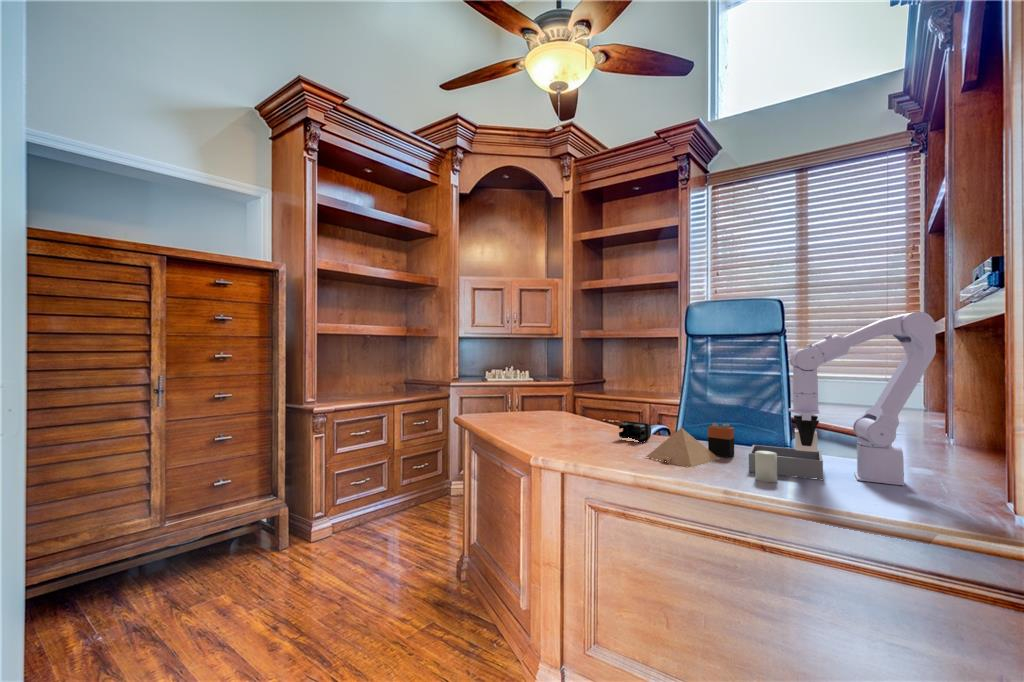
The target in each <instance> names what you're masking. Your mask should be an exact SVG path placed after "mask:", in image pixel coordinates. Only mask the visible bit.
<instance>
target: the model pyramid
mask: <svg viewBox="0 0 1024 682" xmlns="http://www.w3.org/2000/svg"><path fill="white" fill-rule="evenodd" d="M645 457H649V458H653V459H658V460H661V461H662V462H661V461H660V462H661V463H663V462H665V461H666V462H667V463H675V464H679V465H678V466H680V465H684V466H683V467H685V466H688V467H687V468H689V467H693V468H695V467H694V466H697V467H699V466H698V465H700V466H702V465H701V464H703V465H705V463H706V464H709V463H712V462H711V461H713V462H715V460H716V461H719V460H720V458H719V456H716V455H714V454H713V453H712V452H711V451H709V450H708V448H707V447H706V446H705V445H703V444H702V443H701V442H700V441H698V440H697V439H696V438H695V437H694V436H692V435H691V434H690V433H689V432H688V431H686V430H685V429H684V428H683V427H680V428H679V429H678V430H677V431H675V432H674V433H673V434H672V435H671V436H669V437H668V438H667V439H666V440H665V441H664V442H662V443H661V444H660V445H659V446H657V447H656V448H654V450H653V451H651V452H650V453H648V454H647V455H646V456H645ZM666 462H665V463H666ZM708 462H709V463H708ZM667 463H666V464H667ZM675 464H674V465H675Z"/></svg>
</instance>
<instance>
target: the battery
mask: <svg viewBox="0 0 1024 682" xmlns="http://www.w3.org/2000/svg"><path fill="white" fill-rule="evenodd" d="M707 446H708V448H707V449H708V450H709V451H711V452H712V453H713V454H714V455H716V456H717V457H722V458H729V459H730V457H733V456H735V427H733V426H730V424H729V423H722V424H721V425H720V424H719V423H715V422H714V423H712V425H709V426H707Z"/></svg>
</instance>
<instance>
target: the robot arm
mask: <svg viewBox="0 0 1024 682" xmlns="http://www.w3.org/2000/svg"><path fill="white" fill-rule="evenodd" d="M938 328H939V326H937V324H936V321H935V320H934V319H933V318H932V316H931V314H930V315H929V314H928V313H926V312H924V311H913V312H910V313H897V314H895V315H893V316H889V317H884V318H882V319H879V320H877V321H874V322H872V323H870V324H867V325H866V326H863V327H860V328H859V329H857V330H855V331H851V332H850V333H848V334H846V335H844V336H841V335H838V334H833V335H831V334H828V335H825V336H824V339H821V340H819V341H817V342H815V343H807V344H806V345H805V346H806V347H805V348H798V349H796V350H795V351H793V352H792V354H791V355H790V358H789V363H790V365H791V366H792V370H793V371H792V396H793V397H792V402H793V403H792V406H793V408H791V407H790V408H788V409H787V410H788V412H790V413H791V412H792V413H795V415H793V421H794V423H795V425H796V428H797V429H798V430H799V435H800V440H801V444H802V446H811V445H812V441H813V436H814V431H815V430H817V429H816V428H817V426H818V425H819V423H820V420H818V418H819V417H818V415H819V414H820V410H819V386H818V385H819V381H818V380H819V379H818V377H819V376H818V368H819V367H821V366H820V365H823V364H826V363H829V362H831V361H834V360H836V359H838V358H841V357H843V356H846V355H848V353H849V351H850V348H852V347H854V346H856V345H857V346H858V345H860V344H862V343H865V342H868V341H870V340H873V339H875V338H878V337H880V336H893V337H894V338H895V339H896V340H897V341H898V342H899V343H900V344H901V346H902V347H903V350H904V351H905V354H904V355H903V357H902V358H901V360H900V362H899V363H898V365H897V367H896V369H895V370H894V372H893V373H892V375H891V377H890V378H889V381H888V382H887V384H886V385H885V387H884V388H883V390H882V392H881V393H880V395H879V397H878V398H877V400H876V401H875V403H874V405H872V407H870V408H868V409H867V410H866V411H865V413H864V414H863V415H862V416H861V417H859V418H857V419H856V420H855V421H854V422H853V425H852V429H853V430H852V431H853V433H854V434H855V435H856V437H857V440H856V462H857V463H856V465H857V467H856V469H857V471H854V472H853V473H854V475H855V478H856V480H857V481H861V482H871V483H879V484H886V485H887V484H888V485H897V486H905V469H904V467H905V466H904V452H903V451H904V450H903V447H900V446H893V443H894V442H895V441H896V439H897V438H896V437H897V429H898V427H899V425H900V420H899V414H900V413H901V411H902V409H903V408H904V406H905V404H906V403H907V401H908V400H909V398H910V397H911V396H912V395H911V394H912V393H913V392H914V389H915V388H916V386H917V385H918V383H919V382H920V380H921V378H922V376H923V375H924V374H925V372H926V370H927V369H928V367H929V365H930V364H931V362H932V361H933V359H934V357H935V355H936V353H937V350H936V349H937V345H936V343H937V342H936V341H937V340H936V333H937V331H938Z"/></svg>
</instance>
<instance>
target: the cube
mask: <svg viewBox="0 0 1024 682" xmlns="http://www.w3.org/2000/svg"><path fill="white" fill-rule="evenodd" d="M794 449H795V450H799V451H811V452H817V451H818V432H817V429H815V431H814V436H813V441H812V445H811V446H802V444H801V440H800V435H799V430H798V428H794Z"/></svg>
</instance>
